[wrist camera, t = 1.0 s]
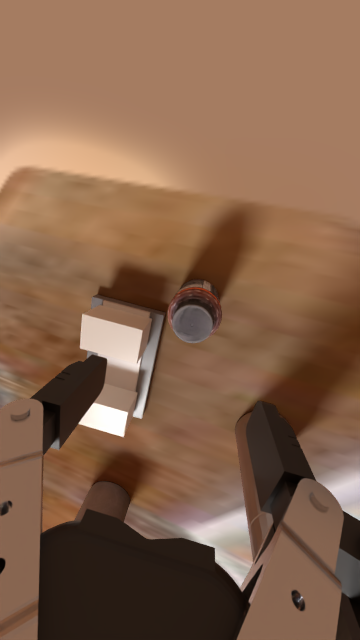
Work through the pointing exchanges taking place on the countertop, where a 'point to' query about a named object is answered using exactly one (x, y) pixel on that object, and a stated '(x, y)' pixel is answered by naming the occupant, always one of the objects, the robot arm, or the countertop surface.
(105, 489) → the pillar candle
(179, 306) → the supplement bottle
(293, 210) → the countertop surface
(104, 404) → the rail board
